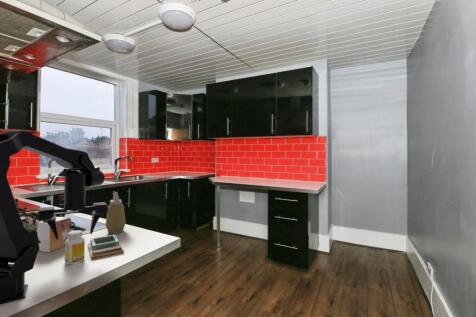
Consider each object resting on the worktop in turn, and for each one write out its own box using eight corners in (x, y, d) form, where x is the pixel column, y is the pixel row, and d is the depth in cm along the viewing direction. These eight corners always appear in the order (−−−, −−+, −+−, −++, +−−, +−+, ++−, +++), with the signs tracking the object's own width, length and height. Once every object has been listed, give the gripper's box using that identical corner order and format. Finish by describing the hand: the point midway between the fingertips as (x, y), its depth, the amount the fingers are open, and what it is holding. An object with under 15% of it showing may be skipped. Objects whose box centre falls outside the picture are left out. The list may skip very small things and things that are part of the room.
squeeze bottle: (124, 233, 106) (125, 193, 106) (104, 235, 103) (104, 194, 103) (126, 228, 114) (126, 190, 113) (106, 230, 111) (107, 191, 110)
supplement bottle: (61, 265, 77) (61, 235, 77) (71, 257, 82) (71, 229, 82) (79, 264, 77) (79, 234, 77) (87, 257, 83) (87, 229, 82)
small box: (49, 252, 85) (49, 223, 85) (36, 251, 87) (36, 222, 86) (69, 244, 93) (69, 217, 93) (57, 243, 94) (57, 216, 94)
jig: (123, 253, 87) (123, 244, 87) (91, 259, 81) (91, 251, 81) (116, 240, 98) (116, 233, 98) (87, 246, 92) (87, 238, 92)
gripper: (104, 184, 91) (103, 225, 91) (40, 187, 80) (39, 234, 80) (108, 188, 82) (108, 234, 82) (37, 192, 71) (37, 245, 71)
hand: (74, 236), depth 79 cm, fingers open, 9 cm apart
